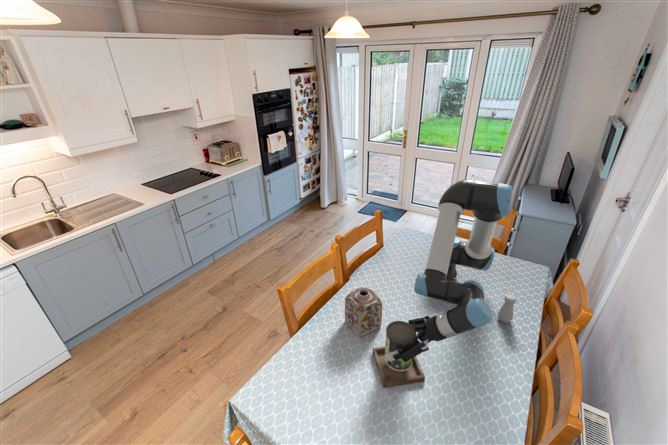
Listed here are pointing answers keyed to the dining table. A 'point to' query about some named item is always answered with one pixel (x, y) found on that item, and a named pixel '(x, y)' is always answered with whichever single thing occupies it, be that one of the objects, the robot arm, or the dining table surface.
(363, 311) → the decorative jar
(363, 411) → the dining table surface
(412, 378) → the holder tray
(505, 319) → the salt shaker
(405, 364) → the coffee can
